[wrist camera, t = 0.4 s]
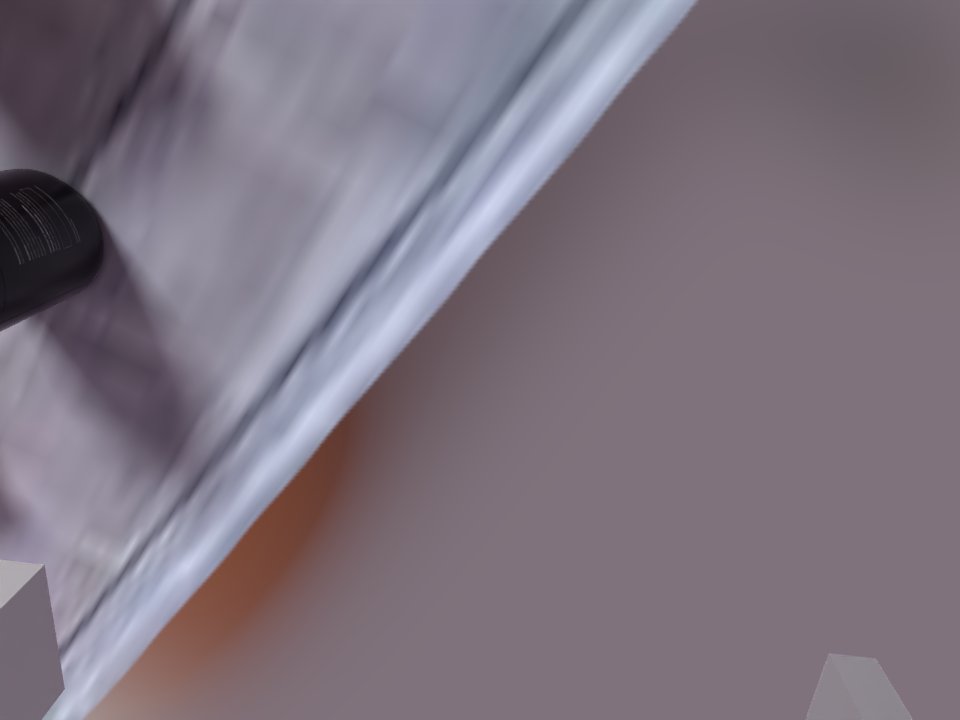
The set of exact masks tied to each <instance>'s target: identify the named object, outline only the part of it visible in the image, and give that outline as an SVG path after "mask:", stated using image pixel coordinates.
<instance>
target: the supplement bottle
mask: <svg viewBox="0 0 960 720" xmlns="http://www.w3.org/2000/svg"><path fill="white" fill-rule="evenodd" d="M102 257H103V240H102V235H101V230H100V227H99V224H98V222H97V220H96V218H95V216H94V214H93V212H92V210H91V209H90V207H89V206H88V204H87V203H86V202H85V201H84V199H83V198H82V197H81V196H80V195H79V194H78V193H77V192H76V191H75V190H74V189H72V188H71V187H70V186H68V185H67V184H66V183H64V182H63V181H61V180H59V179H58V178H56V177H54V176H51V175H49V174H46V173H43V172H40V171H36V170H30V169H12V170H5V171H0V331H2V330H5V329H7V328H9V327H11V326H13V325H15V324H17V323H19V322H21V321H23V320H25V319H27V318H29V317H31V316H33V315H35V314H37V313H39V312H41V311H43V310H45V309H47V308H50V307H52V306H54V305H56V304H58V303H60V302H62V301H64V300H66V299H68V298H70V297H72V296H73V295H75V294H77V293H79V292H80V291H82V290H83V289H85V288H86V287H87V286H88V285H89V284H90V283H91V282H92V280H93V279H94V278H95V276H96V274H97V273H98V271H99V268H100V265H101V262H102Z"/></svg>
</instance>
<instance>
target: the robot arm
mask: <svg viewBox="0 0 960 720" xmlns="http://www.w3.org/2000/svg"><path fill="white" fill-rule="evenodd" d="M64 689H65V688H64V682H63V675H62V669H61V663H60V657H59V651H58V645H57V639H56V633H55V626H54V620H53V614H52V608H51V602H50V596H49V590H48V584H47V577H46V571H45V565H42V564H34V563H25V562H16V561H7V560H0V720H41V719H42V718H43V717H44V716H45V714H46V713H47V712H48V710H49V709H50V708H51V706H52V705H53V704H54V702H55V701H56V700H57V698H58V697H59V696H60V694H61V693H62V692H63V690H64ZM806 720H913V719H912V717H911V716H910V714H909V712H908V711H907V709H906V708H905V706H904V704H903V703H902V701H901V699H900V698H899V696H898V694H897V693H896V691H895V690H894V688H893V686H892V685H891V683H890V681H889V680H888V678H887V676H886V675H885V673H884V672H883V670H882V668H881V667H880V665H879V663H878V662H877V660H876V659H874V658H864V657H856V656H847V655H839V654H830V653H829V654H828V657H827V660H826V663H825V665H824V668H823V671H822V674H821V677H820V680H819V683H818V686H817V688H816V691H815V694H814V697H813V700H812V703H811V706H810V708H809V711H808V714H807V717H806Z"/></svg>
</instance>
